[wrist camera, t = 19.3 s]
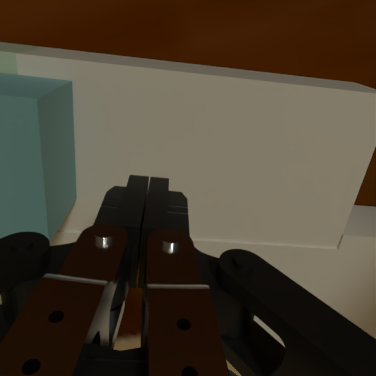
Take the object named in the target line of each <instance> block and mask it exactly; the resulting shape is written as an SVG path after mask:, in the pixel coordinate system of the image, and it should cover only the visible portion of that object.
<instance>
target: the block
mask: <svg viewBox="0 0 376 376" xmlns="http://www.w3.org/2000/svg"><path fill="white" fill-rule="evenodd" d="M76 199H77V196H76V169H75V143H74V116H73V90H72V81H69V80H60V79H51V78H43V77H34V76H25V75H16V74H7V73H0V238H3V237H5V236H8V235H10V234H14V233H18V232H26V231H27V232H37V233H41V234H43V235H45V236H46V237H47V238H48V239H49V242H51V240H52V238H53V237H54V235H55V234H56V232H57V230H58V229H59V227H60V225H61V224H62V222H63V220H64V219H65V217H66V216H67V214H68V212H69V211H70V209H71V207H72V206H73V204H74V202H75V201H76Z"/></svg>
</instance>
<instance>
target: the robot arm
mask: <svg viewBox="0 0 376 376" xmlns="http://www.w3.org/2000/svg"><path fill="white" fill-rule="evenodd" d="M148 185H149V189H148ZM139 263H140V266H139ZM138 270H139V280H138V288H143V297H142V309H141V348H135V349H129V350H124V351H118V350H113V348H114V344H115V340H116V337H117V333H118V330H119V326H120V322H121V319H122V315H123V311H124V307H125V299H126V297H127V294H128V288H129V287H134V288H136V283H137V276H138ZM0 295H1V301H2V304H0V376H237V375H236V374H235V373H233V372H232V371H230V370H229V369H228V367H227V363H226V360H227V361H228V362H229V363H230V364H231V365H232V366H233V367H234V368H235V369H236V370H237V371H238V372H239V373H240V374H241V375H242V376H376V339H375V338H374V337H372V336H371V335H369V334H368V333H367V332H365V331H364V330H362V329H361V328H360V327H358V326H357V325H355V324H354V323H352V322H351V321H350V320H348V319H347V318H345V317H344V316H343V315H341V314H340V313H338V312H337V311H336V310H334V309H333V308H331V307H330V306H329V305H327V304H326V303H324V302H323V301H321V300H320V299H319V298H317V297H316V296H314V295H313V294H312V293H310V292H309V291H307V290H306V289H305V288H303V287H302V286H300V285H299V284H297V283H296V282H295V281H293V280H292V279H290V278H289V277H288V276H286V275H285V274H283V273H282V272H281V271H279V270H278V269H276V268H275V267H274V266H272V265H271V264H269V263H268V262H266V261H265V260H264V259H262V258H261V257H259V256H258V255H256V254H255V253H253V252H250V251H247V250H243V249H230V250H227V251H225V252H223V253H222V254H221V255H220V257H219V258H217V257H214V256H210V255H207V254H205V253H203V252H201V251H199V250H198V249H197V248H195V247H194V243H193V240H192V239H191V238H190V233H189V216H188V200H187V198H186V197H185V195H184V194H183V193H182V192H177V191H169V178H161V177H150V182H149V176H140V175H130V176H129V179H128V183H127V186H126V187H123V186H114V187H112V188H111V189H109V190H108V191H107V192H106V194H105V197H104V199H103V202H102V204H101V207H100V209H99V212H98V214H97V217H96V219H95V222H94V224H93V226H90V227H88V228H86V229H85V230H83V231H82V233H81V234H80V236H79V237H78V239H77V241H76V242H73V243H68V244H62V245H53V246H50V242H49V239H48V238H47V237H46V236H45V235H43V234H41V233H37V232H27V231H26V232H18V233H14V234H10V235H8V236H5V237H3V238H0ZM254 316H256V317H258V318H259V319H260V320H261V321H262V322H263V323H264V324H266V325H267V326H268V327H269V328H270V329H271V330H273V331H274V332H275V333H276V334H277V335H278V336H279V337H280V338H281V340H282V341H283V343H284V346H285V347H284V346H283V345H282V344H281V343H279V342H278V341H277V340H276V339H275V338H274V337H273V336H272V335H270V334H269V333H268V332H267V331H266V330H265V329H264V328H262V327H261V326H260V325H259V324H258V323H257V322H256V321H255V320H253V319H254Z"/></svg>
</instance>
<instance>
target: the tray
mask: <svg viewBox="0 0 376 376" xmlns="http://www.w3.org/2000/svg"><path fill="white" fill-rule="evenodd" d="M0 73H7V74H16V75H25V76H34V77H43V78H51V79H60V80H69V81H72V90H73V116H74V143H75V169H76V196H77V199H76V201H75V202H74V204H73V206H72V207H71V209H70V211H69V212H68V214H67V216H66V217H65V219H64V220H63V222H62V224H61V225H60V227H59V229H58V230H57V232H56V234H55V235H54V237H53V238H52V240H51V242H50V246H53V245H62V244H68V243H73V242H76V241H77V239H78V237H79V236H80V234H81V233H82V231H83V230H85V229H86V228H88V227H90V226H93V224H94V222H95V219H96V217H97V214H98V212H99V209H100V207H101V204H102V202H103V199H104V197H105V194H106V192H107V191H108V190H109V189H111V188H112V187H114V186H123V187H126V186H127V183H128V179H129V176H130V175H140V176H149V182H150V177H161V178H169V191H177V192H182V193H183V194H184V195H185V197H186V198H187V200H188V216H189V233H190V238H191V239H192V240H193V243H194V247H195V248H197V249H198V250H199V251H201V252H203V253H205V254H207V255H210V256H214V257H217V258H219V257H220V255H221V254H222V253H223V252H225V251H227V250H230V249H243V250H247V251H250V252H253V253H255V254H256V255H258V256H259V257H261V258H262V259H264V260H265V261H266V262H268V263H269V264H271V265H272V266H274V267H275V268H276V269H278V270H279V271H281V272H282V273H283V274H285V275H286V276H288V277H289V278H290V279H292V280H293V281H295V282H296V283H297V284H299V285H300V286H302V287H303V288H305V289H306V290H307V291H309V292H310V293H312V294H313V295H314V296H316V297H317V298H319V299H320V300H321V301H323V302H324V303H326V304H327V305H329V306H330V307H331V308H333V309H334V310H336V311H337V312H338V313H340V314H341V315H343V316H344V317H345V318H347V319H348V320H350V321H351V322H352V323H354V324H355V325H357V326H358V327H360V328H361V329H362V330H364V331H365V332H367V333H368V334H369V335H371V336H372V337H374V338H375V339H376V207H372V206H359V205H354V202H355V199H356V197H357V194H358V192H359V189H360V186H361V184H362V181H363V178H364V176H365V173H366V170H367V168H368V165H369V162H370V160H371V157H372V154H373V152H374V149H375V146H376V89H373V88H370V87H367V86H364V85H361V84H358V83H354V82H346V81H337V80H328V79H319V78H311V77H302V76H293V75H284V74H275V73H267V72H258V71H249V70H240V69H232V68H223V67H214V66H205V65H197V64H188V63H179V62H170V61H161V60H153V59H144V58H135V57H126V56H118V55H109V54H100V53H91V52H83V51H74V50H65V49H56V48H48V47H39V46H30V45H21V44H12V43H4V42H0ZM148 189H149V185H148ZM0 304H2V301H1V295H0ZM253 320H255V321H256V322H257V323H258V324H259V325H260V326H261V327H262V328H264V329H265V330H266V331H267V332H268V333H269V334H270V335H272V336H273V337H274V338H275V339H276V340H277V341H278V342H279V343H281V344H282V345H283V346H284V343H283V341H282V340H281V338H280V337H279V336H278V335H277V334H276V333H275V332H274V331H273V330H271V329H270V328H269V327H268V326H267V325H266V324H264V323H263V322H262V321H261V320H260V319H259V318H258V317H256V316H254V319H253ZM284 347H285V346H284Z"/></svg>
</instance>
